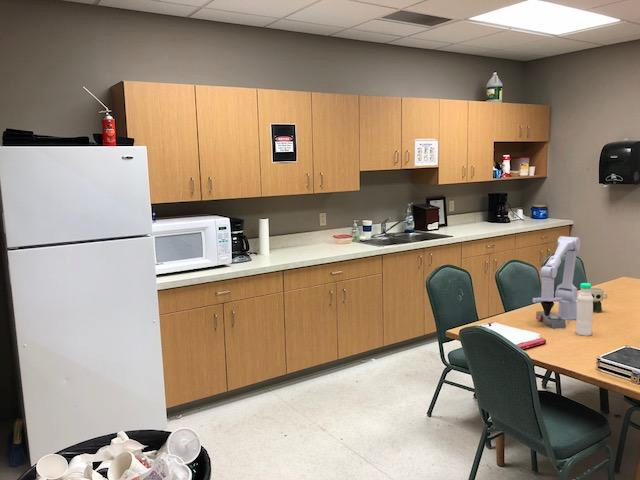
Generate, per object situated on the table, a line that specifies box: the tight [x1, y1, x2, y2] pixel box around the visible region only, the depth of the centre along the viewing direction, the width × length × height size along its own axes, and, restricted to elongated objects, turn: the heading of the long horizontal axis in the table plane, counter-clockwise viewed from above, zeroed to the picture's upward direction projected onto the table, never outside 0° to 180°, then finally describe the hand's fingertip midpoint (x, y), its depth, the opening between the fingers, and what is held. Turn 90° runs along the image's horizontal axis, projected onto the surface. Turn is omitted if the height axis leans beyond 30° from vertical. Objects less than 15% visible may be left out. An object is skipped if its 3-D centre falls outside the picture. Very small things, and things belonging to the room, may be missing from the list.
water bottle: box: [575, 282, 594, 337], centre depth 250 cm, size 7×7×25 cm
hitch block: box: [535, 310, 567, 329], centre depth 270 cm, size 7×18×5 cm, turn 1°
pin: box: [536, 315, 560, 322], centre depth 274 cm, size 11×3×3 cm, turn 91°
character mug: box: [590, 287, 608, 313], centre depth 289 cm, size 11×7×13 cm, turn 53°
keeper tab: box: [547, 315, 558, 319], centre depth 266 cm, size 1×5×4 cm
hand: (546, 315), depth 265 cm, fingers closed
